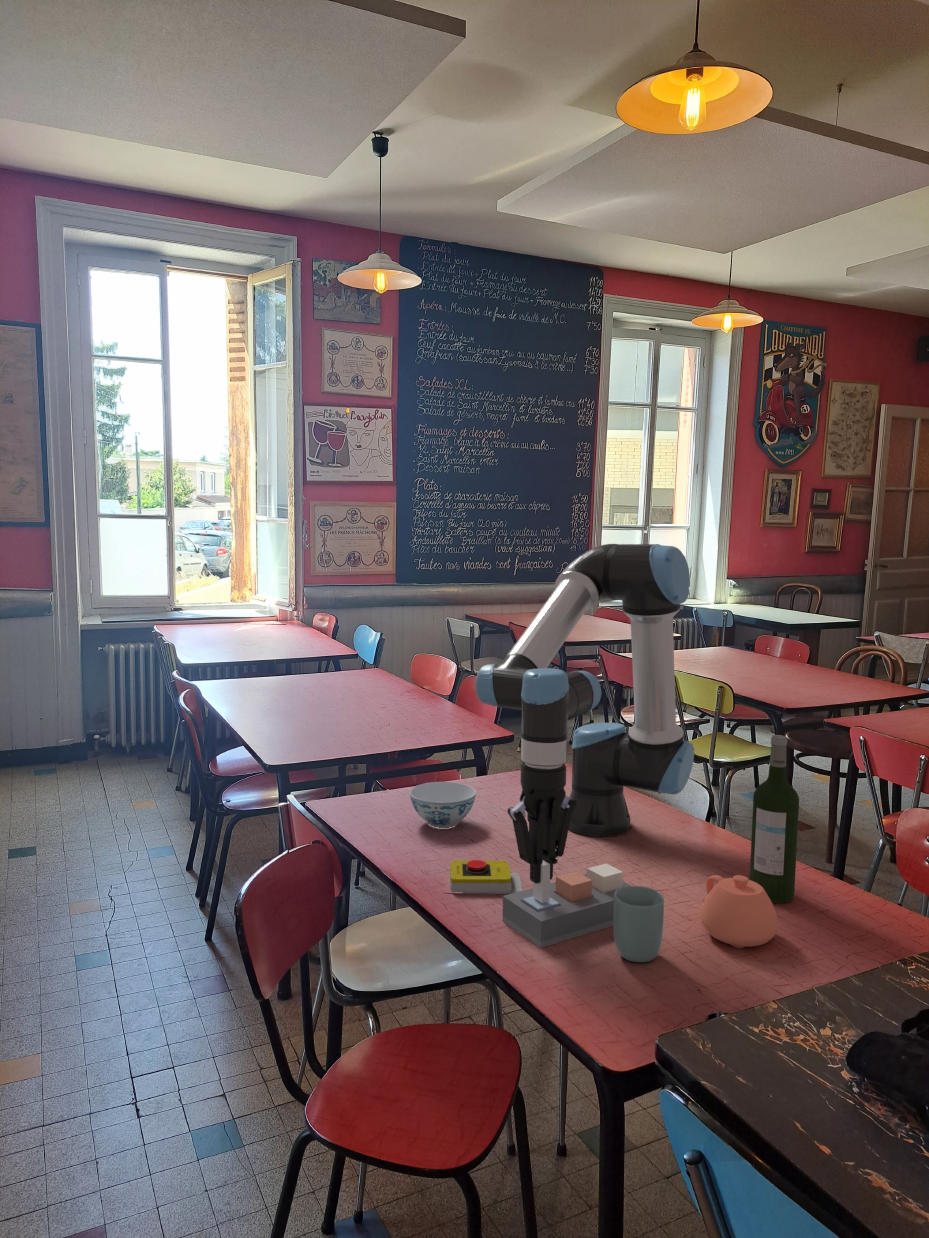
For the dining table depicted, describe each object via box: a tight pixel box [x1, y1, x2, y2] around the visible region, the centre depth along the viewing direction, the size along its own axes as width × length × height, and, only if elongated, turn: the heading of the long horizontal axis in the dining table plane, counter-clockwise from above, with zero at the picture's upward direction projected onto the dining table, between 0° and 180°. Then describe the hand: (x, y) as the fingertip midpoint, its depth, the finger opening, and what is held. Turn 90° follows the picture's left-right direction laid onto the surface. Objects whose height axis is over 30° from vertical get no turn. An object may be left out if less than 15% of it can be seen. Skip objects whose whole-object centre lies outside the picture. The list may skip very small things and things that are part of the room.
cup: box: [612, 885, 665, 963], centre depth 136 cm, size 8×8×10 cm
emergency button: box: [449, 859, 524, 895], centre depth 163 cm, size 9×4×15 cm
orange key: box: [555, 871, 592, 903], centre depth 148 cm, size 4×4×4 cm
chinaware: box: [409, 781, 477, 828], centre depth 195 cm, size 15×15×8 cm
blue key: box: [523, 896, 559, 912], centre depth 145 cm, size 4×4×4 cm
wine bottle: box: [749, 734, 800, 905], centre depth 158 cm, size 8×8×30 cm
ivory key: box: [586, 863, 624, 894], centre depth 152 cm, size 4×4×4 cm
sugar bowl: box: [700, 874, 779, 949], centre depth 143 cm, size 12×14×10 cm
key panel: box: [502, 873, 632, 949], centre depth 149 cm, size 22×11×4 cm, turn 121°
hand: (541, 898), depth 145 cm, fingers closed
